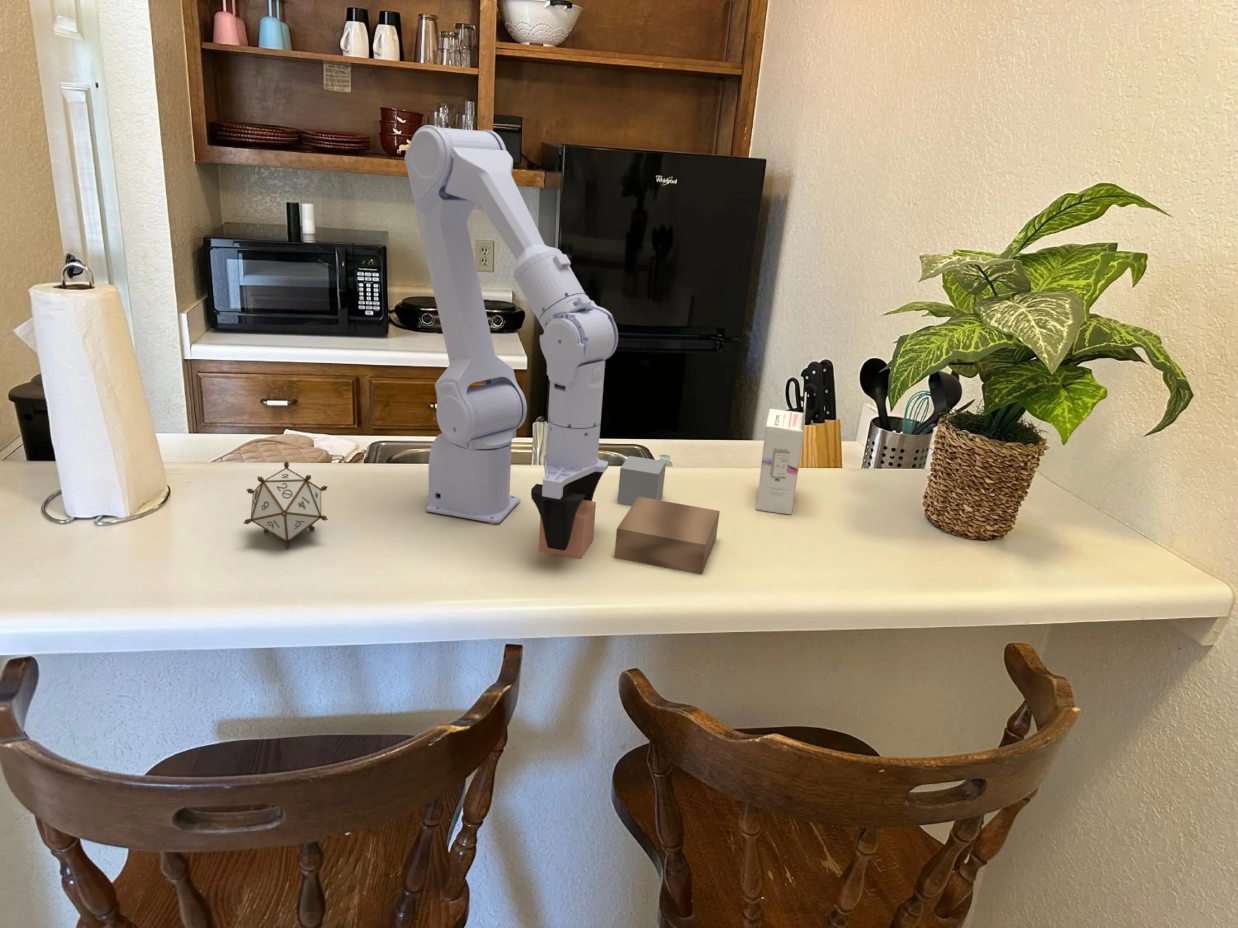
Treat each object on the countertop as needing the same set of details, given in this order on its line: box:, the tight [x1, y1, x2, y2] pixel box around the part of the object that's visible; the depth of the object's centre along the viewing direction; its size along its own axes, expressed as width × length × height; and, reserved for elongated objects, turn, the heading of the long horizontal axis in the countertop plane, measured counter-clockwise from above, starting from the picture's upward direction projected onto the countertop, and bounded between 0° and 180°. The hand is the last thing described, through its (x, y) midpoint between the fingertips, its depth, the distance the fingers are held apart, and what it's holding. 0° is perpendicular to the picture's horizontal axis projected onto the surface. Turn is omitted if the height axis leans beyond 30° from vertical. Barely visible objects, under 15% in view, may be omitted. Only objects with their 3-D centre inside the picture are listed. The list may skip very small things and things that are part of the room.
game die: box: [242, 460, 329, 550], centre depth 95 cm, size 9×8×10 cm
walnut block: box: [613, 497, 720, 575], centre depth 101 cm, size 10×10×4 cm
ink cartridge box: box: [755, 391, 808, 515], centre depth 115 cm, size 9×5×15 cm, turn 168°
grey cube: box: [617, 455, 667, 507], centre depth 114 cm, size 5×5×5 cm
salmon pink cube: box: [538, 500, 597, 559], centre depth 99 cm, size 5×5×5 cm
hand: (567, 534), depth 100 cm, fingers open, 7 cm apart
